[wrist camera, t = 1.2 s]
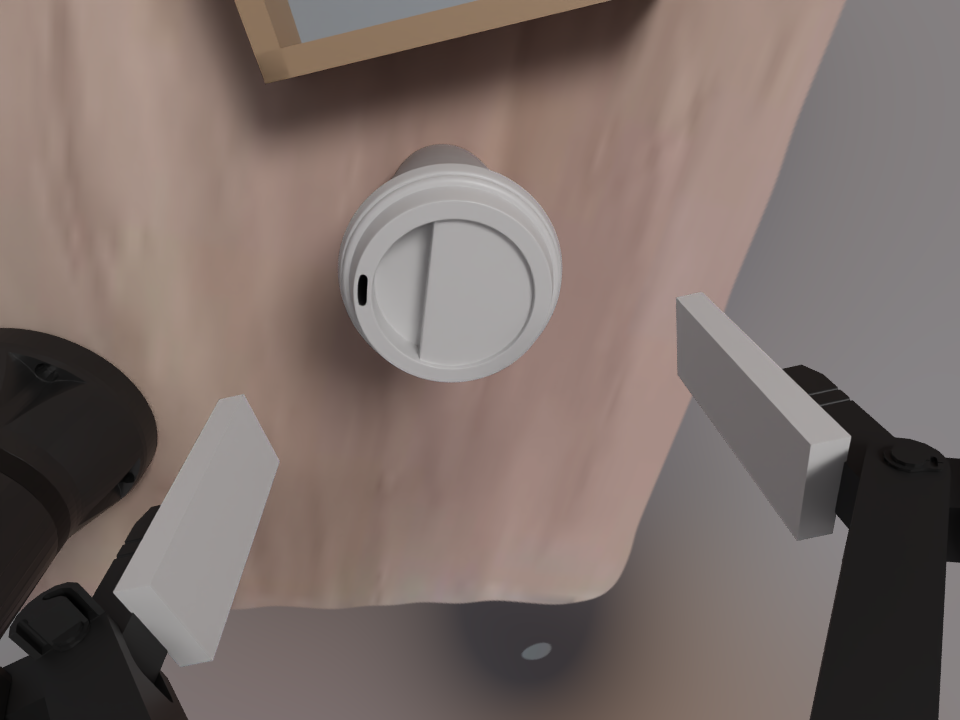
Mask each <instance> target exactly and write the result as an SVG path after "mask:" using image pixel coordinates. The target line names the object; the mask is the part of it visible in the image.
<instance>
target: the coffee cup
mask: <svg viewBox="0 0 960 720" xmlns="http://www.w3.org/2000/svg"><path fill="white" fill-rule="evenodd" d="M561 279H562V256H561V250H560V245H559V241H558V238H557V235H556V232H555V230H554V227H553V225H552V223H551V221H550V219H549V217H548V216H547V214H546V213H545V211H544V210H543V208H542V207H541V206H540V204H539V203H538V202H537V201H536V200H535V199H534V198H533V197H532V196H531V195H530V194H529V193H528V192H527V191H526V190H525V189H523V188H522V187H521V186H520V185H518V184H517V183H515V182H514V181H512V180H510V179H509V178H507V177H505V176H503V175H501V174H499V173H496V172H494V171H491V170H489V169H488V168H487V167H486V166H485V165H484V164H483V163H482V162H481V161H480V160H479V159H478V158H477V157H476V156H475V155H473V154H472V153H470V152H469V151H467V150H465V149H463V148H460V147H458V146H454V145H448V144H437V145H431V146H427V147H424V148H422V149H420V150H418V151H416V152H414V153H413V154H412V155H410V156H409V157H408V158H407V159H406V160H405V161H404V162H403V163H402V164H401V166H400V167H399V169H398V170H397V172H396V173H395V175H394V177H393V178H392V179H391V180H390V181H388V182H386V183H385V184H383V185H382V186H381V187H379V188H378V189H377V190H376V191H374V192H373V193H372V194H371V195H370V196H369V197H368V198H367V199H366V200H365V201H364V202H363V203H362V205H361V206H360V207H359V208H358V210H357V211H356V213H355V214H354V216H353V217H352V219H351V221H350V223H349V225H348V227H347V229H346V231H345V234H344V237H343V240H342V243H341V247H340V252H339V259H338V280H339V287H340V292H341V296H342V299H343V302H344V305H345V308H346V310H347V313H348V315H349V317H350V319H351V321H352V323H353V325H354V326H355V328H356V329H357V331H358V332H359V333H360V335H361V336H362V337H363V338H364V340H365V341H366V342H367V343H368V344H369V345H370V346H371V347H372V348H373V349H374V350H375V351H376V352H377V353H378V354H380V355H381V356H382V357H383V358H385V359H386V360H387V361H388V362H390V363H391V364H392V365H394V366H395V367H397V368H399V369H401V370H402V371H404V372H406V373H409V374H411V375H414V376H416V377H419V378H423V379H427V380H431V381H438V382H465V381H471V380H476V379H480V378H483V377H486V376H489V375H492V374H494V373H496V372H498V371H500V370H502V369H504V368H506V367H508V366H509V365H511V364H512V363H514V362H515V361H516V360H517V359H519V358H520V357H521V356H522V355H523V354H524V353H525V352H526V351H527V350H528V349H529V348H530V347H531V346H532V345H533V343H534V342H535V341H536V339H537V338H538V337H539V336H540V334H541V333H542V332H543V330H544V329H545V327H546V325H547V324H548V322H549V320H550V318H551V316H552V314H553V312H554V309H555V307H556V304H557V301H558V297H559V293H560V287H561Z"/></svg>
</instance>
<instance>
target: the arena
mask: <svg viewBox="0 0 960 720" xmlns="http://www.w3.org/2000/svg"><path fill="white" fill-rule="evenodd" d="M234 1H235V4H236V6H237V9H238V12H239V14H240V17H241V20H242V22H243V25H244V28H245V31H246V33H247V36H248V39H249V41H250V44H251V47H252V49H253V52H254V55H255V57H256V60H257V63H258V66H259V68H260V71H261V74H262V76H263V79H264V82H265V84H267V83H272V82H276V81H280V80H284V79H288V78H292V77H296V76H301V75H305V74H309V73H313V72H317V71H321V70H325V69H329V68H334V67H338V66H342V65H346V64H350V63H354V62H358V61H362V60H367V59H371V58H375V57H379V56H383V55H387V54H391V53H395V52H400V51H404V50H408V49H412V48H416V47H420V46H424V45H428V44H433V43H437V42H441V41H445V40H449V39H453V38H457V37H461V36H466V35H470V34H474V33H478V32H482V31H486V30H490V29H494V28H499V27H503V26H507V25H511V24H515V23H519V22H523V21H527V20H532V19H536V18H540V17H544V16H548V15H552V14H556V13H560V12H565V11H569V10H573V9H577V8H581V7H585V6H589V5H593V4H598V3H602V2H606V1H610V0H234Z"/></svg>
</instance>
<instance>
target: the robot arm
mask: <svg viewBox="0 0 960 720" xmlns="http://www.w3.org/2000/svg"><path fill="white" fill-rule="evenodd" d="M676 320H677V369H678V376H679V377H680V379H681V380H682V381H683V383H684V384H685V386H686V387H687V388H688V390H689V391H690V393H691V394H692V395H693V397H694V398H695V400H696V401H697V402H698V404H699V405H700V406H701V408H702V409H703V411H704V412H705V413H706V415H707V416H708V418H709V419H710V420H711V422H712V423H713V425H714V426H715V427H716V429H717V430H718V432H719V433H720V434H721V436H722V437H723V438H724V440H725V441H726V443H727V444H728V445H729V447H730V448H731V449H732V451H733V452H734V454H735V455H736V456H737V458H738V459H739V461H740V462H741V463H742V465H743V466H744V468H745V469H746V471H747V472H748V473H749V475H750V476H751V477H752V479H753V480H754V482H755V483H756V484H757V486H758V487H759V489H760V490H761V491H762V493H763V494H764V495H765V497H766V498H767V500H768V501H769V502H770V504H771V505H772V507H773V508H774V509H775V511H776V512H777V514H778V515H779V516H780V518H781V519H782V520H783V522H784V523H785V525H786V526H787V528H788V529H789V530H790V532H791V533H792V535H793V536H794V537H795V539H796V540H797V541H798V540H803V539H808V538H813V537H818V536H822V535H827V534H832V533H833V528H834V523H835V518H836V514H837V516H838V517H839V518H840V519H841V520H842V521H843V523H844V524H845V525H846V526H847V527H848V528H849V532H848V537H847V541H846V546H845V550H844V555H843V559H842V565H841V571H840V575H839V580H838V585H837V590H836V595H835V600H834V604H833V609H832V614H831V619H830V624H829V628H828V633H827V638H826V643H825V648H824V653H823V658H822V662H821V667H820V672H819V677H818V682H817V687H816V692H815V697H814V701H813V706H812V711H811V716H810V720H938V713H939V695H940V676H941V656H942V636H943V617H944V598H945V578H946V562H959V563H960V459H956V458H945V457H944V456H943V455H942V454H941V453H940V452H939V451H937V450H936V449H934V448H932V447H930V446H928V445H927V444H925V443H921V442H918V441H915V440H911V439H905V438H895V437H893V436H892V435H891V434H890V433H889V432H888V431H887V430H886V429H884V428H883V427H882V426H881V425H880V424H879V423H878V422H877V421H875V420H874V419H873V418H872V417H871V416H870V415H869V414H867V413H866V412H865V411H864V410H863V409H862V408H860V406H858V405H857V404H856V403H855V402H854V401H850V399H849V397H848V396H847V395H846V394H845V393H844V392H842V391H841V390H838V388H837V386H836V385H835V384H833V383H832V382H831V381H830V380H829V379H828V378H827V377H825V376H824V375H823V374H821V373H819V372H817V371H815V370H812V369H810V368H808V367H806V366H803V365H798V366H794V367H789V368H784V369H781V368H780V367H779V366H778V365H777V364H776V363H775V362H774V361H773V360H772V359H771V358H770V357H769V356H768V355H767V354H766V353H765V352H764V351H763V350H762V349H761V348H760V347H759V346H757V345H756V344H755V343H754V342H753V341H752V340H751V339H750V338H749V337H748V336H747V335H746V334H745V333H744V332H743V331H742V330H741V329H740V328H739V327H738V326H737V325H736V324H735V323H734V322H733V321H732V320H731V319H730V318H728V316H727V315H725V314H724V313H723V312H722V311H721V310H720V309H719V308H718V307H717V306H716V305H715V304H714V303H713V302H712V301H711V300H710V299H709V298H708V297H707V296H706V295H705V294H704V293H703V292H699V293H694V294H690V295H685V296H681V297H676ZM156 446H157V428H156V423H155V420H154V416H153V414H152V411H151V409H150V407H149V405H148V403H147V402H146V400H145V398H144V397H143V395H142V394H141V392H140V391H139V390H138V389H137V387H136V386H135V385H134V384H133V383H132V382H131V381H130V380H129V379H128V378H127V377H126V376H125V375H124V374H123V373H122V372H121V371H120V370H118V369H117V368H116V367H115V366H113V365H112V364H111V363H109V362H108V361H106V360H105V359H103V358H102V357H100V356H99V355H97V354H95V353H94V352H92V351H90V350H88V349H86V348H84V347H82V346H80V345H78V344H75V343H73V342H71V341H68V340H65V339H63V338H60V337H57V336H53V335H50V334H46V333H42V332H37V331H32V330H25V329H15V328H0V639H1V637H2V636H3V634H4V633H5V631H6V630H7V628H8V627H9V625H10V624H11V622H12V621H13V619H14V618H15V616H16V615H17V613H18V612H19V610H20V609H21V607H22V606H23V604H24V603H25V601H26V600H27V598H28V597H29V595H30V594H31V592H32V591H33V589H34V588H35V586H36V585H37V583H38V582H39V580H40V579H41V577H42V576H43V574H44V573H45V571H46V570H47V568H48V567H49V565H50V564H51V562H52V561H53V559H54V558H55V556H56V555H57V554H58V552H59V551H60V549H61V548H62V546H63V545H64V543H65V542H66V541H67V539H68V538H69V537H71V536H72V535H73V534H75V533H76V532H77V531H79V530H80V529H81V528H83V527H84V526H85V525H87V524H88V523H89V522H91V521H92V520H93V519H95V518H96V517H98V516H99V515H100V514H102V513H103V512H104V511H106V510H107V509H108V508H110V507H111V506H112V505H114V504H115V503H116V502H118V501H119V500H120V499H122V498H123V497H124V496H125V495H127V494H128V493H129V492H130V491H131V490H132V489H133V487H134V486H135V485H136V484H137V483H138V481H139V480H140V478H141V477H142V475H143V473H144V472H145V470H146V469H147V467H148V465H149V464H150V462H151V461H152V458H153V456H154V454H155V450H156ZM279 462H280V461H279V459H278V457H277V455H276V453H275V451H274V450H273V448H272V446H271V444H270V442H269V440H268V438H267V436H266V435H265V433H264V431H263V429H262V427H261V425H260V423H259V422H258V420H257V418H256V416H255V414H254V412H253V410H252V408H251V407H250V405H249V403H248V401H247V399H246V397H245V395H244V394H242V395H237V396H233V397H228V398H224V399H219V401H218V403H217V405H216V406H215V408H214V410H213V412H212V414H211V415H210V417H209V419H208V421H207V423H206V425H205V426H204V428H203V430H202V432H201V434H200V435H199V437H198V439H197V441H196V443H195V444H194V446H193V448H192V450H191V452H190V454H189V455H188V457H187V459H186V461H185V463H184V464H183V466H182V468H181V470H180V472H179V473H178V475H177V477H176V479H175V481H174V483H173V484H172V486H171V488H170V490H169V492H168V493H167V495H166V497H165V499H164V501H163V503H162V504H161V505H158V506H154V507H151V508H150V509H149V510H148V511H147V512H146V513H145V514H144V515H143V516H142V517H141V518H140V519H139V520H138V521H137V522H136V523H135V525H134V527H133V528H132V530H131V532H130V533H129V535H128V537H127V539H126V540H125V545H122V547H121V549H120V551H119V552H118V554H117V559H114V561H113V563H112V564H111V566H110V568H109V569H108V571H107V573H106V575H105V576H104V578H103V580H102V581H101V583H100V585H99V587H98V588H97V590H96V592H95V593H94V595H93V597H91V596H90V595H89V594H88V593H87V592H86V591H85V590H84V589H83V587H81V586H80V585H79V584H78V583H73V582H67V583H63V584H60V585H57V586H54V587H52V588H51V589H49V590H47V591H45V592H43V593H41V594H40V595H39V596H37V597H36V598H35V599H33V600H32V601H31V602H30V603H28V604H27V605H26V606H25V607H24V609H23V610H22V611H21V612H20V613H19V614H18V615H17V616H16V618H15V620H14V621H13V623H12V625H11V626H10V631H9V638H10V639H11V640H13V641H14V642H15V643H16V644H17V645H18V646H19V647H21V648H22V649H23V650H24V651H25V652H26V653H27V654H29V656H27V657H24V658H23V659H20V660H18V661H16V662H14V663H12V664H10V665H7V666H5V667H3V668H2V667H0V720H188V719H187V717H186V714H185V713H184V710H183V708H182V706H181V704H180V702H179V700H178V698H177V696H176V694H175V692H174V690H173V688H172V686H171V684H170V682H169V680H168V678H167V677H166V676H165V675H164V674H163V672H162V671H161V670H160V669H161V667H162V664H163V662H164V659H165V657H166V655H167V653H168V654H169V655H170V656H171V657H172V659H173V660H174V661H175V662H176V663H177V664H178V665H179V666H180V667H185V666H189V665H194V664H199V663H204V662H209V661H213V659H214V656H215V653H216V650H217V647H218V644H219V641H220V638H221V635H222V632H223V629H224V626H225V623H226V620H227V617H228V614H229V611H230V608H231V606H232V603H233V600H234V597H235V594H236V591H237V588H238V585H239V582H240V579H241V576H242V573H243V570H244V567H245V564H246V561H247V558H248V555H249V552H250V549H251V546H252V543H253V540H254V537H255V534H256V531H257V528H258V525H259V522H260V519H261V516H262V513H263V510H264V507H265V504H266V501H267V498H268V495H269V492H270V489H271V486H272V483H273V480H274V477H275V474H276V471H277V468H278V465H279Z"/></svg>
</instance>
